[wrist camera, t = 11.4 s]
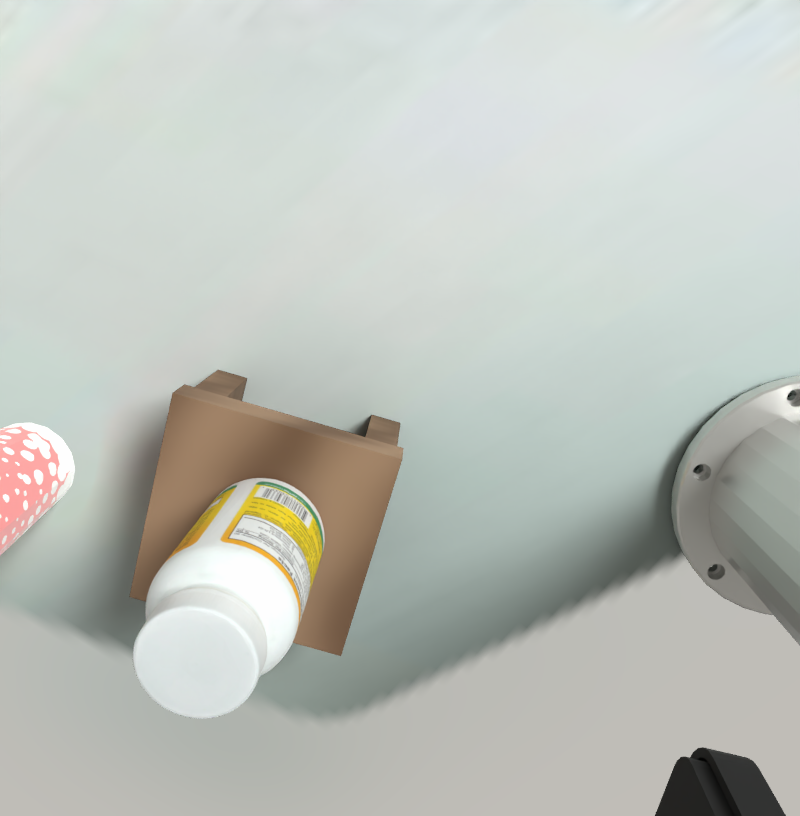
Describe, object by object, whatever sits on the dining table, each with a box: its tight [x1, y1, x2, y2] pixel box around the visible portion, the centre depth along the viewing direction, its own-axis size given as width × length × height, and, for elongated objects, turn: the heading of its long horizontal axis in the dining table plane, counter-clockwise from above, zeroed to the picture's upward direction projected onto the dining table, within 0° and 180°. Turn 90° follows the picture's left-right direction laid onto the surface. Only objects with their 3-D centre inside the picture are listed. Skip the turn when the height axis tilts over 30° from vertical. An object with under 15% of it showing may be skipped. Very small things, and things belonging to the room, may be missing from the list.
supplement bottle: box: [133, 478, 325, 719], centre depth 27 cm, size 5×5×10 cm
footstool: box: [129, 370, 403, 656], centre depth 34 cm, size 10×10×6 cm
